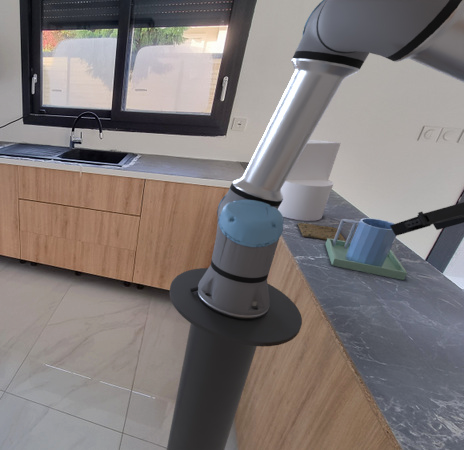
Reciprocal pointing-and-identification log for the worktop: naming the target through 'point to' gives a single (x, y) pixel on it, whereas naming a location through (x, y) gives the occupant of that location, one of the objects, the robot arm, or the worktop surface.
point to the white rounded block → (309, 182)
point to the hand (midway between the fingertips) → (414, 227)
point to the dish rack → (338, 258)
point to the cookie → (319, 231)
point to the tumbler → (371, 242)
